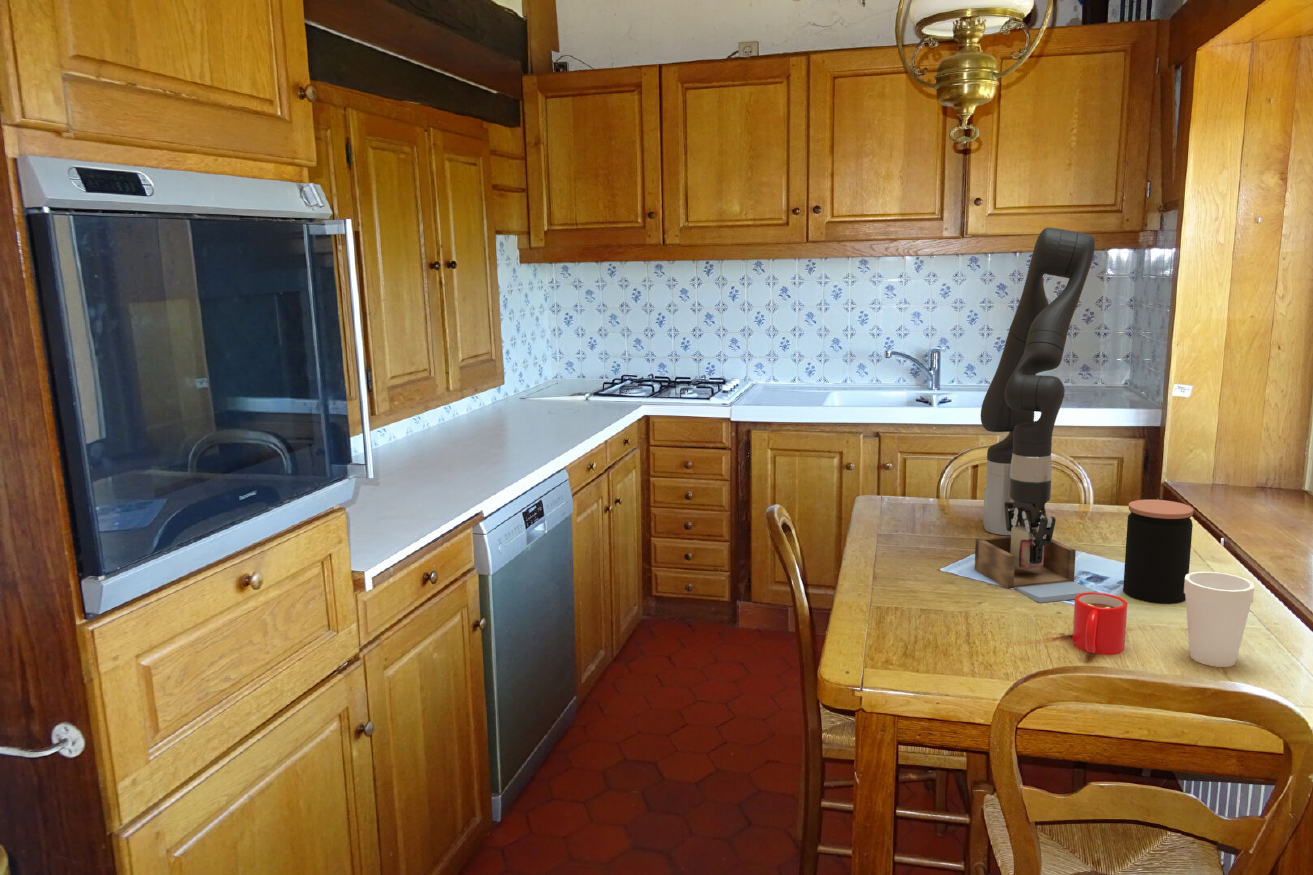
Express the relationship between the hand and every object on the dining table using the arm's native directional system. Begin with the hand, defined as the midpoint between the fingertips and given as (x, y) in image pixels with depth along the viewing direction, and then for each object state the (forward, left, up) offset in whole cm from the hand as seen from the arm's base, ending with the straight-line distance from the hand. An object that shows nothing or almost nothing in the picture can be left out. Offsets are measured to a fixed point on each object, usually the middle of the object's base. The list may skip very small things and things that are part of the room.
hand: (1026, 558), depth 183 cm
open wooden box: (-1, 0, -5) cm, 5 cm away
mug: (+32, -8, -5) cm, 33 cm away
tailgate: (+6, 0, -4) cm, 7 cm away
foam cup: (+40, +7, -5) cm, 41 cm away
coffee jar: (+15, +17, -5) cm, 23 cm away
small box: (0, 0, -2) cm, 2 cm away
